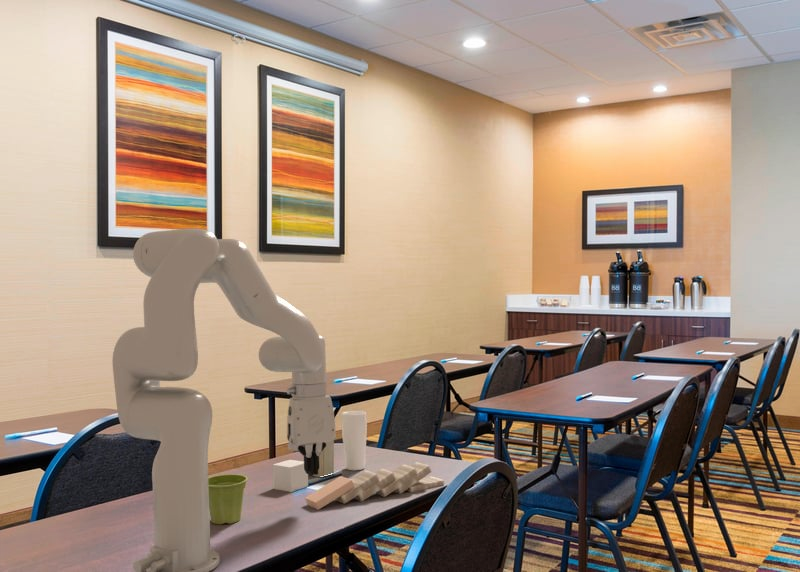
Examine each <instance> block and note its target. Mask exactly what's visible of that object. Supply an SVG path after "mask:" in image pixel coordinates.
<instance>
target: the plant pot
mask: <svg viewBox="0 0 800 572" xmlns="http://www.w3.org/2000/svg"><path fill="white" fill-rule="evenodd" d="M248 480H249V478H248V476H246V475H244V474H239V473H238V474H236V473H229V474H226V473H224V474H219V475H218V474H217V475H213V476H208V485H209V518H210V520H211V523H213V524H215V525H224V524H235V523H237V522H239V521H240V520H241V519H242V510H243V501H244V490H245V488H246V484H247V482H248Z"/></svg>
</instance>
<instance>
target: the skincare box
mask: <svg viewBox="0 0 800 572" xmlns="http://www.w3.org/2000/svg"><path fill="white" fill-rule="evenodd" d="M333 440H334V441H335V438H334V439H333ZM334 444H335V442H334V443H333V444H331V445H329V446H326V447H325V448H324V449H323V451H322V452H321V455H320V456H319V469H318V474H317V475H315V474H314V475H312V476H313V477H316V478H320V476H324V475H328V474H331V473H334V471H335V469H334V468H335V465H334V464H335V462H334V457H335V454H334V453H335V452H334V451H335V450H334V449H335V448H334V446H335V445H334ZM310 448H312V444H310ZM334 474H335V473H334ZM308 476H310V475H309V474H308Z"/></svg>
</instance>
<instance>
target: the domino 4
mask: <svg viewBox="0 0 800 572" xmlns="http://www.w3.org/2000/svg"><path fill="white" fill-rule="evenodd" d="M411 466H412V465H407V464H402V465H400V466H398V467H397V468H396V469H394V470H392V471H391V472H393V473H394V476H395V478H396V479H395V480H394V481H392V482H391V483H389V484H388V485H386V486H385V487H383V488H382V489H380V490H379V491H377V492H376V493H375V494H377V495H379V496H381V497H384V498H386V497H387V496H388V495H390V494H391V493H394V492H393V491H394V490H396V489H397V488H399V487H400V486H402V485H403V484H405V483H406V482H408V481H409V480H411V479H412V478H414V477H415V476H417V475H418V474H417V471H416V469H415V468H413V467H411Z"/></svg>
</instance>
